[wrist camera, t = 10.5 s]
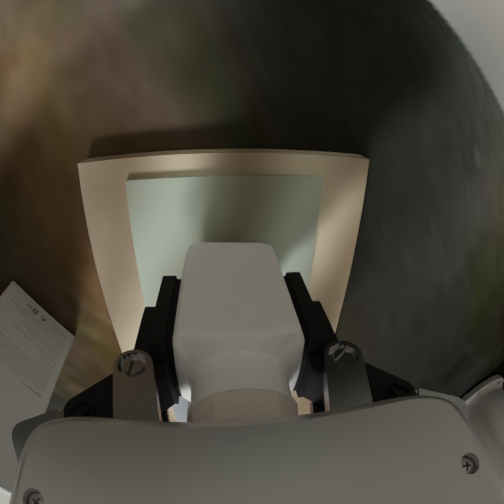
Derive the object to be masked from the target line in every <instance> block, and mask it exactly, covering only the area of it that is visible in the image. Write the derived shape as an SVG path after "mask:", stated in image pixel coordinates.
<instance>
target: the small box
mask: <svg viewBox="0 0 504 504" xmlns="http://www.w3.org/2000/svg"><path fill="white" fill-rule="evenodd" d="M74 339H75V337H74V336H73V335H72V334H71V333H70V332H69V331H68V330H67V329H65V328H64V327H63V326H62V325H61V324H60V323H58V322H57V321H56V320H55V319H54V318H53V317H52V316H51V315H49V314H48V313H47V312H46V311H45V310H44V309H43V308H42V307H41V306H40V305H39V304H37V303H36V302H35V301H34V300H33V299H32V298H31V297H30V296H29V295H28V294H27V293H26V292H25V291H24V290H23V289H22V288H21V287H20V286H19V285H18V284H17V283H16V282H15V281H12V282H11V283H10V284H9V285H8V287H7V288H6V289H5V290H4V292H3V293H2V294H1V295H0V493H2V494H4V495H7V496H11V492H12V486H13V481H14V477H15V473H16V470H17V466H18V461H17V457H16V453H15V449H14V445H13V440H12V431H13V428H14V427H15V425H16V424H17V423H19V422H21V421H24V420H27V419H29V418H32V417H35V416H38V415H41V414H44V413H46V409H47V406H48V403H49V400H50V398H51V395H52V392H53V389H54V386H55V384H56V381H57V379H58V376H59V374H60V371H61V369H62V366H63V364H64V362H65V359H66V357H67V354H68V352H69V350H70V347H71V345H72V343H73V341H74Z"/></svg>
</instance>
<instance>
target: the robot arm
mask: <svg viewBox="0 0 504 504" xmlns="http://www.w3.org/2000/svg"><path fill="white" fill-rule="evenodd" d="M283 277H284V280H285V283H286V286H287V289H288V291H289V294H290V297H291V300H292V303H293V306H294V309H295V312H296V315H297V318H298V320H299V323H300V326H301V329H302V332H303V335H304V339H305V343H304V350H303V356H302V362H301V367H300V371H299V375H298V378H297V381H296V384H295V387H294V389H293V391H294V390H296V392H297V396H298V397H304V398H306V399H308V400H310V414H305V415H297V416H289V417H280V418H270V419H259V420H245V421H226V422H170V418H169V412H168V409H169V408H170V407H172V406H173V405H174V404H179V396H182V395H181V392H180V388H179V384H178V380H177V375H176V368H175V361H174V352H173V343H172V340H173V332H174V325H175V318H176V311H177V304H178V297H179V291H180V285H181V279H177V276H163V278H162V282H161V286H160V290H159V294H158V298H157V302H156V306H155V307H145V309H144V312H143V316H142V319H141V323H140V327H139V331H138V335H137V338H136V342H135V346H134V350H129V351H126V352H123V353H121V354H120V355H119V356H118V357H117V358H116V360H115V361H114V365H113V374H111V375H109V376H108V377H106V378H105V379H103V380H101V381H100V382H98V383H96V384H95V385H93V386H91V387H90V388H88V389H86V390H85V391H83V392H82V393H80V394H78V395H77V396H75V397H73V398H72V399H71V400H69V401H68V402H67V404H66V405H65V408H64V409H63V410H59V409H58V408H57V409H54V410H52V411H49V412H46V413H44V414H41V415H38V416H35V417H32V418H29V419H27V420H24V421H21V422H19V423H17V424H16V425H15V427H14V428H13V431H12V440H13V445H14V449H15V453H16V457H17V461H18V466H17V470H16V473H15V477H14V481H13V486H12V492H11V498H10V504H504V391H503V390H502V388H501V387H502V385H503V381H504V380H503V378H502V376H501V375H494V376H492V377H490V378H488V379H486V380H485V381H483V382H482V383H480V384H479V385H477V386H476V387H475V388H473V389H472V390H471V391H470V392H468V393H467V394H466V395H465V396H464V397H462V398H458V397H455V396H450V395H446V394H441V393H437V392H433V391H428V390H424V389H419V390H418V391H416V390H415V389H414V387H413V386H412V385H411V384H410V383H409V382H407V381H405V380H403V379H401V378H398V377H396V376H394V375H392V374H389V373H387V372H385V371H383V370H380V369H378V368H376V367H374V366H372V365H369V364H367V363H365V362H364V359H363V354H362V352H361V350H360V349H359V348H358V347H357V346H356V345H355V344H353V343H351V342H348V341H342V340H341V341H338V339H337V337H336V335H335V333H334V330H333V328H332V326H331V324H330V322H329V319H328V317H327V315H326V313H325V311H324V308H323V306H322V304H321V302H320V301H312V299H311V296H310V294H309V292H308V290H307V287H306V285H305V283H304V280H303V278H302V276H301V274H300V272H286V275H285V276H283Z"/></svg>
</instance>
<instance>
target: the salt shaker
mask: <svg viewBox="0 0 504 504" xmlns="http://www.w3.org/2000/svg"><path fill="white" fill-rule="evenodd" d="M172 343H173V352H174V361H175V368H176V375H177V380H178V384H179V388H180V392H181V395H182V397H183V398H184V399H186V400H188V401H190V402H191V405H190V406H189V408H188V411H187V422H226V421H245V420H259V419H270V418H280V417H289V416H297V415H298V405H297V403H296V401H295V399H294V397H292V395H291V393H292V391H293V389H294V387H295V384H296V381H297V378H298V375H299V371H300V367H301V362H302V356H303V350H304V343H305V339H304V335H303V332H302V329H301V326H300V323H299V320H298V318H297V315H296V312H295V309H294V306H293V303H292V300H291V297H290V294H289V291H288V289H287V286H286V283H285V280H284V277H283V274H282V272H281V269H280V266H279V263H278V260H277V257H276V255H275V252H274V249H273V247H272V246H270V245H268V244H264V243H236V242H198V243H195V244H192V245H190V246H189V248H188V250H187V253H186V255H185V260H184V266H183V272H182V278H181V285H180V291H179V297H178V304H177V311H176V318H175V325H174V332H173V340H172Z"/></svg>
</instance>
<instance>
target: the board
mask: <svg viewBox="0 0 504 504" xmlns="http://www.w3.org/2000/svg"><path fill="white" fill-rule="evenodd" d="M368 166H369V159H368V158H365V157H363V156H361V155H359V154H348V153H336V152H323V151H307V150H285V149H195V150H173V151H157V152H143V153H132V154H121V155H112V156H103V157H94V158H87V159H85V160H83V161H82V162H80V163H78V171H79V179H80V186H81V193H82V199H83V205H84V211H85V217H86V222H87V227H88V232H89V237H90V242H91V247H92V251H93V255H94V260H95V264H96V268H97V272H98V276H99V280H100V283H101V287H102V291H103V294H104V298H105V301H106V305H107V308H108V311H109V315H110V318H111V321H112V324H113V327H114V330H115V333H116V336H117V339H118V342H119V345H120V348H121V350H122V353H123V352H126V351H129V350H134V346H135V342H136V338H137V335H138V331H139V327H140V323H141V319H142V316H143V312H144V309H145V307H155V306H156V302H157V298H158V294H159V290H160V286H161V282H162V278H163V276H177V279H181V278H182V272H183V266H184V260H185V255H186V253H187V250H188V248H189V246H190V245H192V244H195V243H198V242H236V243H264V244H268V245H270V246H272V247H273V249H274V252H275V255H276V257H277V260H278V263H279V266H280V269H281V272H282V274H283V276H285V275H286V272H300V274H301V276H302V278H303V280H304V283H305V285H306V287H307V290H308V292H309V294H310V296H311V299H312V301H320V302H321V304H322V306H323V308H324V311H325V313H326V315H327V317H328V319H329V322H330V324H331V326H332V328H333V330H334V333H335V331H336V328H337V324H338V320H339V316H340V312H341V308H342V304H343V300H344V296H345V292H346V288H347V283H348V279H349V274H350V270H351V265H352V260H353V255H354V251H355V246H356V240H357V235H358V230H359V224H360V219H361V213H362V207H363V201H364V194H365V188H366V181H367V173H368ZM291 395H292V397H294V399H295V401H296V403H297V405H298V415H305V414H310V400H308V399H306V398H304V397H298V396H297V392H296V390H294V391H292V393H291ZM187 411H188V400H186V399H184V398H183V397H182V396H179V404H174V405H173V406H172V407H170V408H169V409H168V412H169V418H170V422H187Z"/></svg>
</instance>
